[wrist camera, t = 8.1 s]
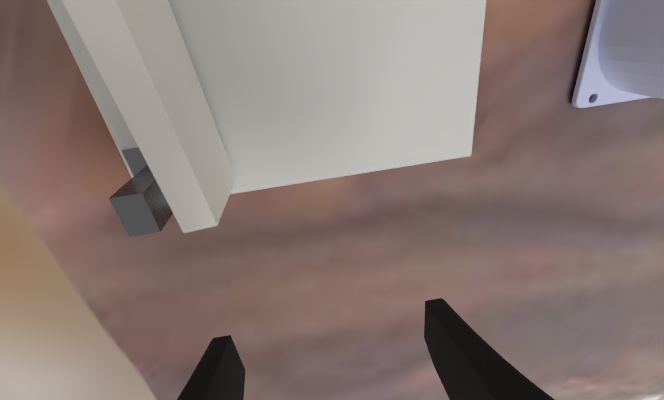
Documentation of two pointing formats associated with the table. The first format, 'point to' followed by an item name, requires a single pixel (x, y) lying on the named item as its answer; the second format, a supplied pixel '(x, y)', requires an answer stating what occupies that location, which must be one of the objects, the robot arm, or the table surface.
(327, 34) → the mat
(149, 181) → the dark grey stepped block
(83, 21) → the gate
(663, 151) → the table surface
